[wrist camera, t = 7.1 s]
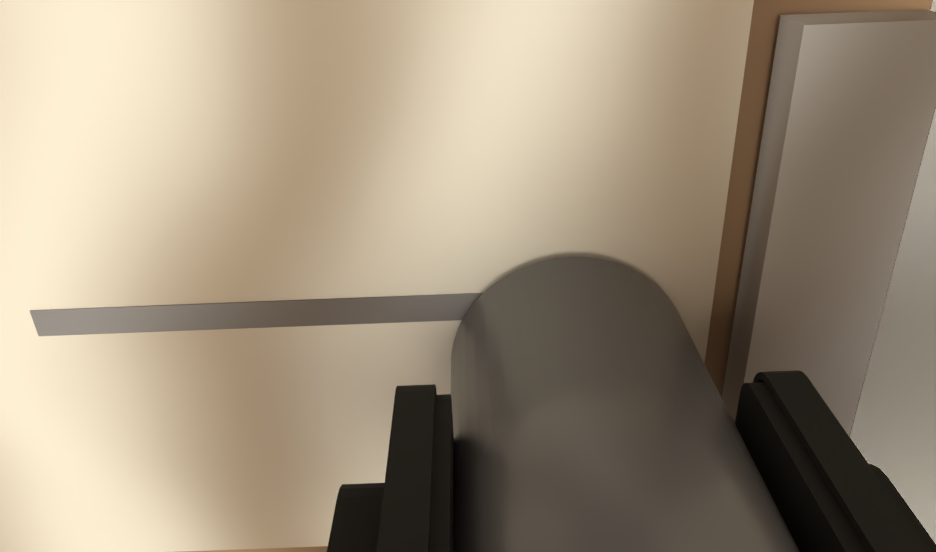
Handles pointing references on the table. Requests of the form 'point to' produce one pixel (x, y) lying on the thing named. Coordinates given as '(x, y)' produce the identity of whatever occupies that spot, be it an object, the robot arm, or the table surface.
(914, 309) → the table surface
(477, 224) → the clipboard
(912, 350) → the table surface
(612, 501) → the marker
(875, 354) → the table surface
